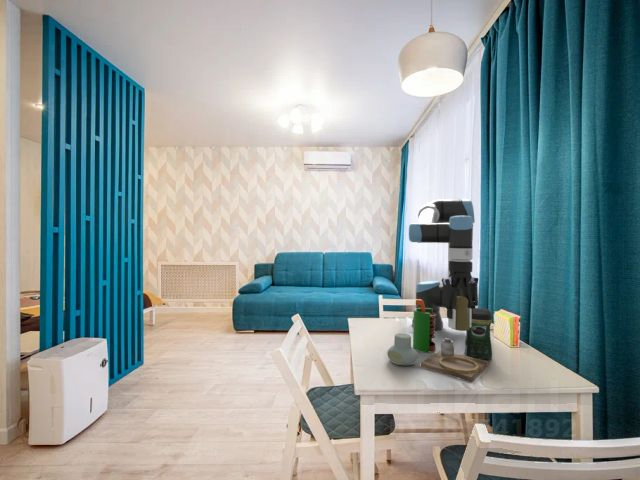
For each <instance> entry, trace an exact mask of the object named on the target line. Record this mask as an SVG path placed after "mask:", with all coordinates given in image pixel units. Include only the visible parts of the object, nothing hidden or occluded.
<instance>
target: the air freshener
mask: <svg viewBox="0 0 640 480" xmlns="http://www.w3.org/2000/svg"><path fill="white" fill-rule="evenodd" d="M393 343H394V345H391V346H390V347H389V348H388V349H387V352H386V354H387V358H388V359H389V360H390V361H391V362H392V363H394V364H395V365H398V366H400V367H401V366H411V365H413V364H415V363H416V362H417V361H418V359H419V353H418V350H415V349H414V348H413V346H412V336H411V335H410V334H408V333H402V332H401V333H396V334H394V342H393Z"/></svg>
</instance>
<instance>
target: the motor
mask: <svg viewBox="0 0 640 480" xmlns="http://www.w3.org/2000/svg"><path fill="white" fill-rule="evenodd" d="M416 305H421V308H416V307H415V308H413V318H414V322H413V326H412V328H413V329H412V348H414V349H415V350H416V351H417V352H422V353H430V352H435V351H436V350H437V349H436V342H434V341H433V339H435V338H436V335H435V334H436V330H435V322H434V321H435V318H433V317H436V315H435V314H434V313H433V309H430V308H425V305H424V302H423V300H421V299H416V298H415V306H416Z"/></svg>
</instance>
